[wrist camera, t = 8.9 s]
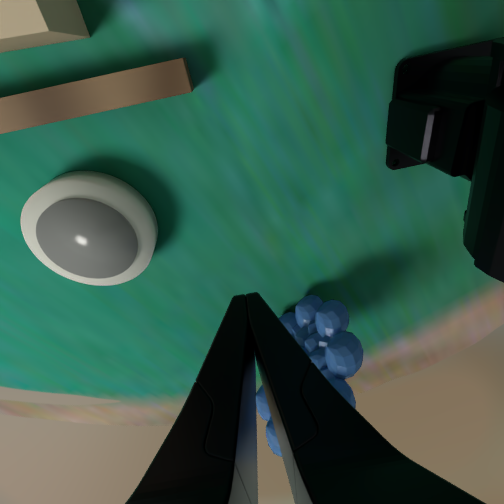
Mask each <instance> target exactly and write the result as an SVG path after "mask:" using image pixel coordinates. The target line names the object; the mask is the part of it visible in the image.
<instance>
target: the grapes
mask: <svg viewBox="0 0 504 504" xmlns="http://www.w3.org/2000/svg"><path fill="white" fill-rule="evenodd" d="M279 320H280V321H281V322H282V324H283V325H284V326H285V327H286V329H287V330H288V331H289V332H290V334H291V335H292V336H293V337H294V339H295V340H296V341H297V343H298V344H299V345H300V346H301V348H302V349H303V350H304V351H305V353H306V354H307V355H308V356H309V358H310V359H311V360H312V362H313V363H314V364H315V365H316V366H317V368H318V369H319V370H320V371H321V373H322V374H323V375H324V376H325V377H326V379H327V380H328V381H329V382H330V383H331V384H332V386H333V387H334V388H335V389H336V390H337V391H338V392H339V393H340V394H341V395H342V396H343V397H344V398H345V399H346V400H347V401H348V402H349V403H350V404H351V405H352V406H353V407H354V408H355V406H356V401H355V398H354V395H353V391H352V389H351V387H350V386H349V385H348V384H347V382H346V381H345V380H344V379H347V378H349V377H352V376H354V374H355V373H356V372H357V371H358V370H359V368H360V367H361V365H362V361H363V349H362V346H361V343H360V341H359V340H358V339H357V337H356V336H355V335H354V334H353V333H351V332H347V331H346V329H347V327H348V324H349V314H348V311H347V308H346V307H345V306H344V305H343V304H342V303H341V302H340V301H337V300H329V301H326V302H324V303H323V301H322V300H321V299H320V298H319V297H318V296H316V295H308V296H305V297H304V298H302V299H301V300H300V301H299V302H298V304H297V305H296V309H295V313H294V312H288V313H285V314H283V315H282V316H281V317H280V318H279ZM256 406H257V410H258V413H259V414H260V416H261V417H262V419H263V420H266V421H268V422H267V425H266V437H267V441H268V445H269V447H270V448H271V450H272V451H273V453H274V454H276V455H278V456H281V457H282V453H281V450H280V446H279V442H278V439H277V435H276V431H275V428H274V424H273V420H272V417H271V413H270V409H269V406H268V402H267V398H266V395H265V391H264V388H263V385H262V386H261V387H260V388H259V390H258V391H257V393H256Z"/></svg>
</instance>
